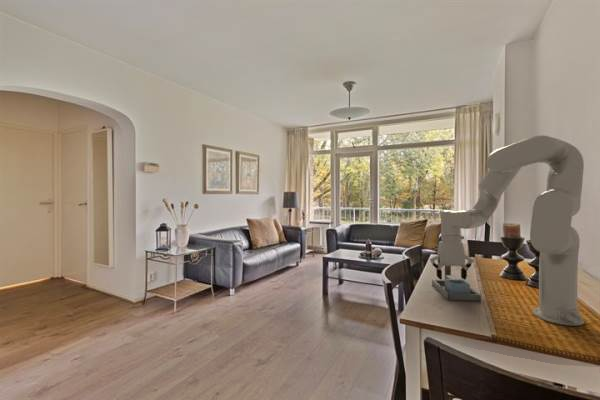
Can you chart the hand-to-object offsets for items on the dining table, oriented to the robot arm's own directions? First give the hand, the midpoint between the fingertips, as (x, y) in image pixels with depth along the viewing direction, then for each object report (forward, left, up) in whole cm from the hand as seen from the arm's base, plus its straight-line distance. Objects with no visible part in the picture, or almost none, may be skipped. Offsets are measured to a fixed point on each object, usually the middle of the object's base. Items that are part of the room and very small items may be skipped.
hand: (451, 278), depth 125 cm
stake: (+12, -3, -5) cm, 13 cm away
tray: (-4, 0, -5) cm, 6 cm away
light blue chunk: (-4, +1, -4) cm, 6 cm away
